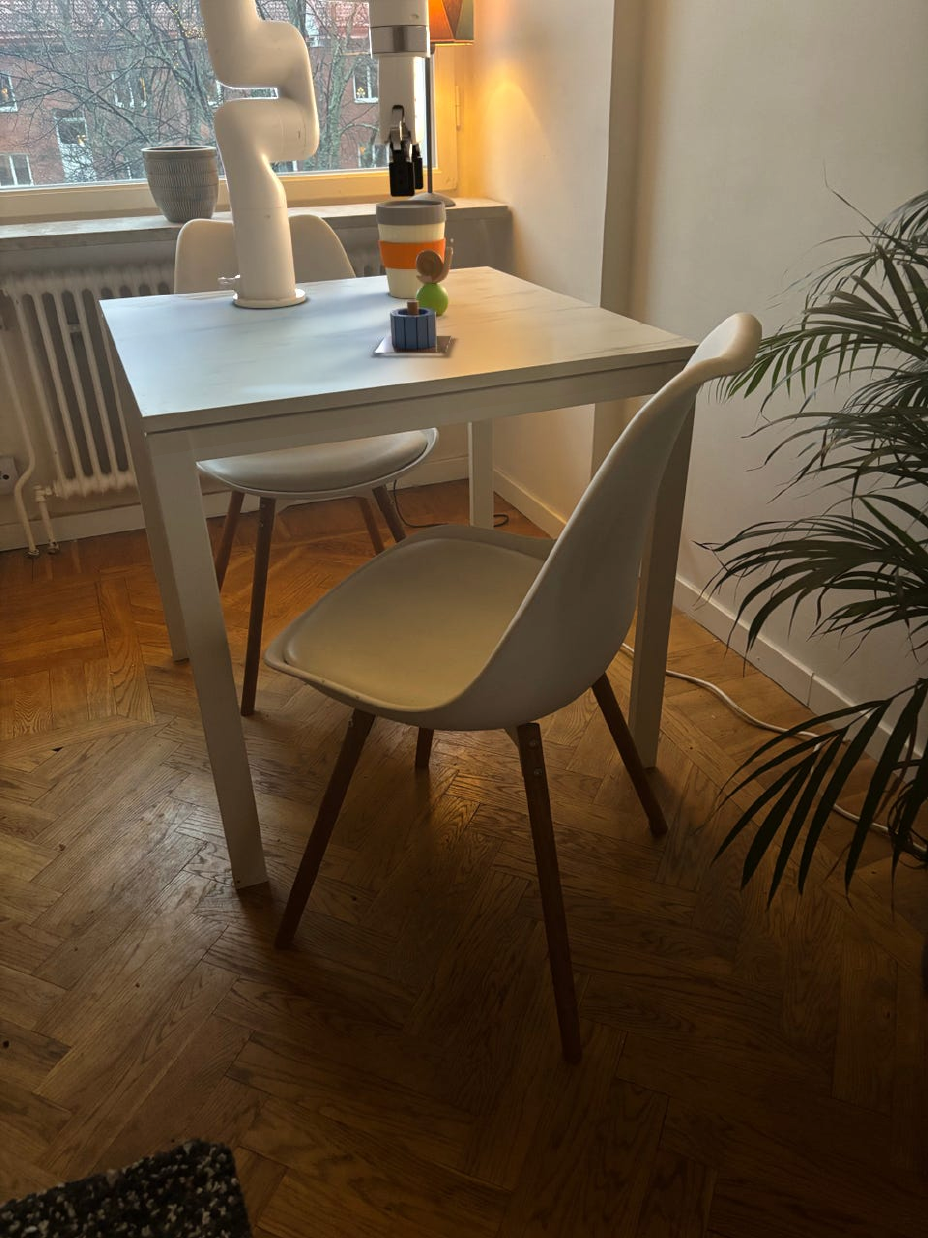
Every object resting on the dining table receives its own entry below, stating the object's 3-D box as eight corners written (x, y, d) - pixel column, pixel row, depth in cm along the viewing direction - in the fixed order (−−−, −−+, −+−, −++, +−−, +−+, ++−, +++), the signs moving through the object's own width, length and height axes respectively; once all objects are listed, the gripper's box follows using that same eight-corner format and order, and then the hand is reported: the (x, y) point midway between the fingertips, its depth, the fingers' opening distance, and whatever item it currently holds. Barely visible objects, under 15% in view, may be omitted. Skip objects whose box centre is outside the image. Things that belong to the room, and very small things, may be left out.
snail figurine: (451, 321, 150) (449, 241, 144) (412, 320, 151) (408, 241, 145) (458, 314, 155) (456, 236, 149) (420, 313, 156) (417, 236, 150)
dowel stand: (375, 356, 132) (371, 308, 128) (385, 339, 140) (382, 293, 137) (445, 356, 131) (444, 308, 128) (451, 339, 140) (450, 293, 136)
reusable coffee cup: (447, 299, 165) (445, 207, 157) (376, 300, 165) (370, 208, 158) (449, 285, 176) (447, 198, 168) (383, 287, 176) (377, 200, 169)
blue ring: (389, 349, 133) (387, 316, 131) (395, 338, 138) (393, 307, 136) (434, 349, 132) (432, 316, 130) (438, 338, 138) (437, 306, 136)
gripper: (381, 48, 126) (389, 187, 135) (359, 43, 111) (370, 199, 120) (436, 46, 126) (441, 186, 134) (421, 40, 111) (428, 198, 119)
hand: (407, 192), depth 127 cm, fingers open, 9 cm apart
